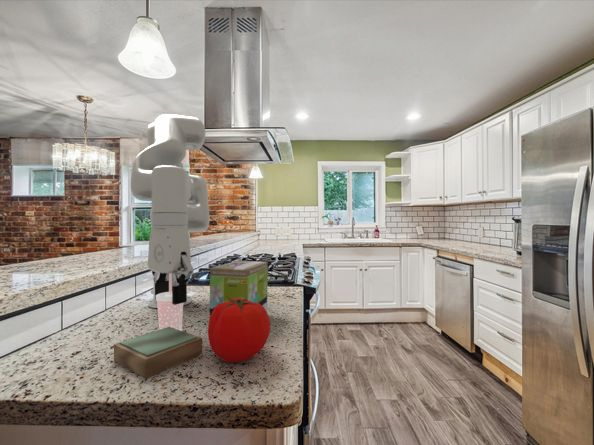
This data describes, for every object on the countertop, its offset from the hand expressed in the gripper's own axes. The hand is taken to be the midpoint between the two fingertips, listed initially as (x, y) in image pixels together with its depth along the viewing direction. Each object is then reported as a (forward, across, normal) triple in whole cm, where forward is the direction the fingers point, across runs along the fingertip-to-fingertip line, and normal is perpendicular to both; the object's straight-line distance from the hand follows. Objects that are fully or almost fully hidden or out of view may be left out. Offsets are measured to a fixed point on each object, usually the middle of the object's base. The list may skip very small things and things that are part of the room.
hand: (170, 300), depth 68 cm
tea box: (+8, +7, +15) cm, 18 cm away
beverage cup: (+8, 0, 0) cm, 8 cm away
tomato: (+8, +22, 0) cm, 23 cm away
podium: (+8, +9, -8) cm, 14 cm away
